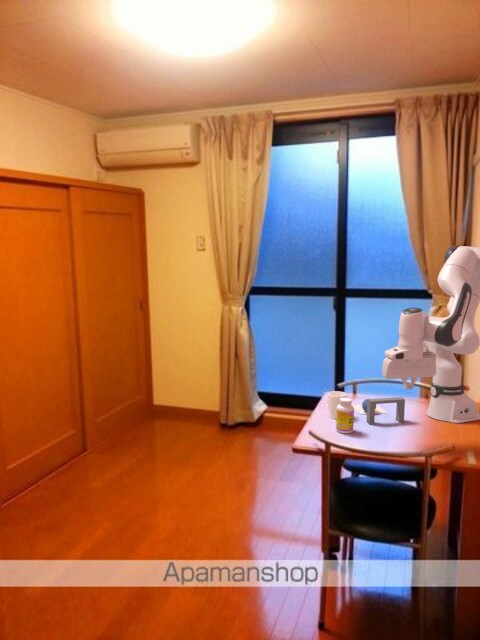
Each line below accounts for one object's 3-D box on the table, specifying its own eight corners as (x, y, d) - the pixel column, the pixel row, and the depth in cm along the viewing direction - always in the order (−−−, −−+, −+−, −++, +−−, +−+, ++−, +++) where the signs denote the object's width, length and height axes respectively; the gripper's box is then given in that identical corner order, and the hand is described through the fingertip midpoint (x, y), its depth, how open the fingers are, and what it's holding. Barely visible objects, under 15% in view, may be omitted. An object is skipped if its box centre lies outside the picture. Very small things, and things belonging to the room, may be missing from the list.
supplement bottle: (349, 435, 188) (350, 403, 186) (333, 432, 192) (334, 400, 190) (355, 429, 194) (356, 398, 192) (339, 426, 197) (340, 395, 195)
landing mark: (375, 404, 225) (375, 403, 225) (387, 412, 213) (387, 412, 213) (350, 405, 222) (350, 405, 222) (361, 414, 211) (361, 414, 211)
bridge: (366, 422, 202) (367, 399, 201) (400, 419, 205) (401, 397, 203) (369, 424, 199) (370, 401, 198) (403, 422, 202) (405, 399, 200)
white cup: (348, 419, 205) (348, 396, 203) (329, 419, 205) (329, 396, 204) (344, 413, 213) (345, 391, 211) (326, 413, 213) (326, 391, 211)
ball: (374, 395, 215) (380, 404, 210) (370, 405, 218) (376, 415, 213) (361, 396, 213) (367, 405, 209) (358, 406, 217) (363, 415, 212)
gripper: (431, 349, 185) (429, 384, 188) (380, 351, 182) (379, 387, 184) (441, 353, 179) (438, 389, 181) (388, 355, 176) (387, 392, 178)
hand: (408, 388), depth 183 cm, fingers closed
